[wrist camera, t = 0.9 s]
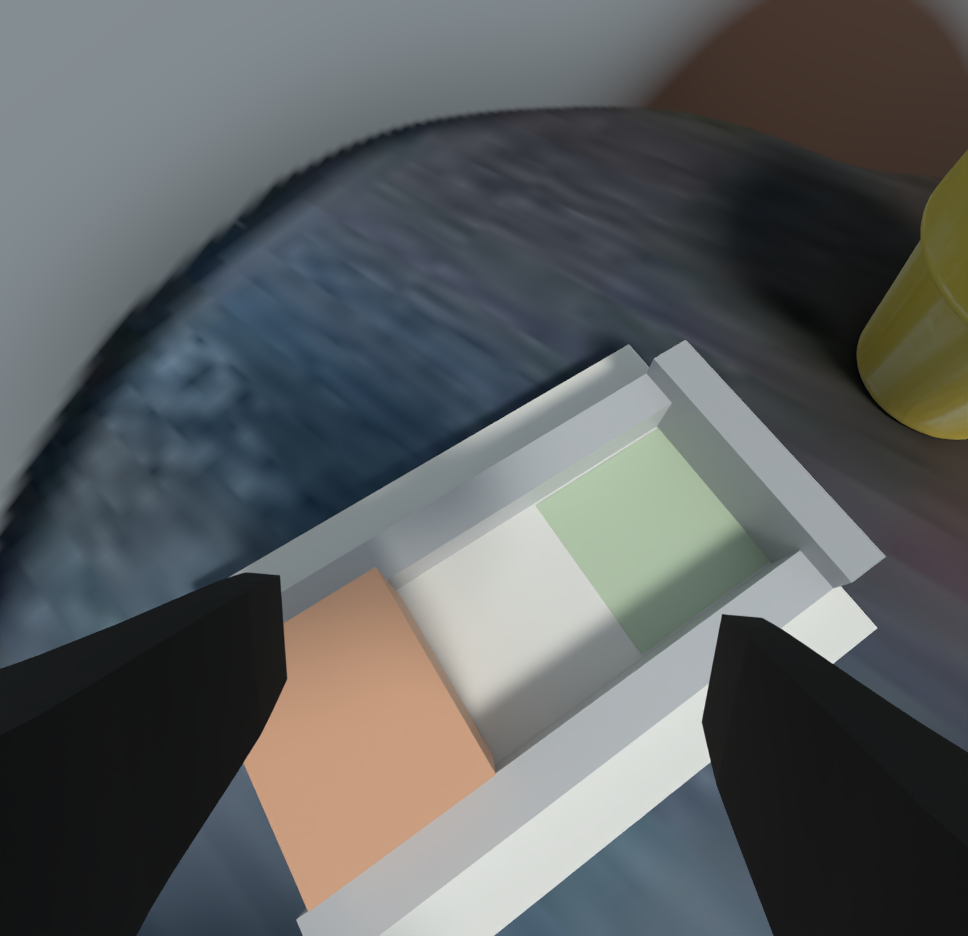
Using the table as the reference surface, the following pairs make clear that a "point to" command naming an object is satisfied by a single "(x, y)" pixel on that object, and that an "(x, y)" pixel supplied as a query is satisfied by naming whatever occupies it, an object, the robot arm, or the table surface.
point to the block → (360, 738)
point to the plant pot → (926, 323)
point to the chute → (578, 617)
